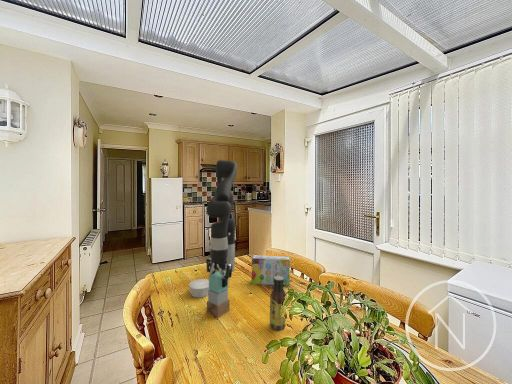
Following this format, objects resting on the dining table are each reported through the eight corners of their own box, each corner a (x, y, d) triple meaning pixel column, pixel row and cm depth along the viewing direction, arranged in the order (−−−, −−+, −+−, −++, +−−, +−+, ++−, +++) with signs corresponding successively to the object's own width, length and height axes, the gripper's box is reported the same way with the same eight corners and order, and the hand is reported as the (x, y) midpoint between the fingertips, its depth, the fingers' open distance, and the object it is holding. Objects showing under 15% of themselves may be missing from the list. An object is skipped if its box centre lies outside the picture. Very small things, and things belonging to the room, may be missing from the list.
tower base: (206, 312, 100) (206, 301, 100) (218, 305, 106) (218, 295, 106) (218, 318, 96) (218, 306, 96) (229, 310, 102) (229, 299, 102)
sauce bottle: (268, 321, 94) (269, 274, 93) (283, 320, 95) (284, 273, 94) (271, 331, 88) (272, 280, 87) (287, 331, 88) (288, 280, 88)
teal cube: (208, 289, 100) (209, 275, 100) (218, 284, 105) (218, 271, 104) (218, 293, 97) (218, 279, 96) (228, 288, 101) (228, 275, 101)
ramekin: (206, 300, 110) (206, 289, 110) (184, 297, 113) (184, 287, 112) (214, 289, 121) (214, 279, 121) (195, 287, 124) (195, 277, 123)
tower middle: (208, 301, 100) (208, 290, 100) (218, 295, 105) (218, 285, 105) (217, 305, 97) (217, 294, 96) (227, 300, 101) (227, 289, 101)
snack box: (288, 282, 132) (289, 256, 131) (289, 286, 126) (290, 259, 126) (252, 280, 134) (252, 254, 133) (251, 284, 128) (251, 257, 128)
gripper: (201, 245, 101) (201, 283, 102) (225, 252, 93) (224, 292, 93) (213, 242, 107) (213, 277, 108) (237, 248, 99) (236, 286, 99)
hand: (218, 284), depth 101 cm, fingers open, 6 cm apart
